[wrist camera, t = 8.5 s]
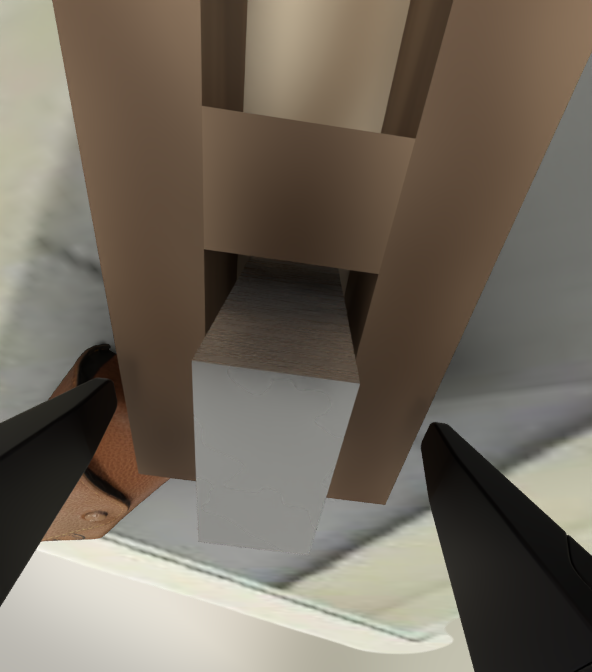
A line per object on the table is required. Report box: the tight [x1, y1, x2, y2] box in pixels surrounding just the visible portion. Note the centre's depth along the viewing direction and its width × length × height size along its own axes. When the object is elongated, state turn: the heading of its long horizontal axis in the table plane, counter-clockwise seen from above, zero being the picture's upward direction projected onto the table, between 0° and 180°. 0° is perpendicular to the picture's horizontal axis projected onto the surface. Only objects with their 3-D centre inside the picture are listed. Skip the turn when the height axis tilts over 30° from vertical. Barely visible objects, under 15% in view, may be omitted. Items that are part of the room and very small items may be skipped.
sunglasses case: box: [41, 344, 170, 542], centre depth 20 cm, size 18×7×7 cm, turn 139°
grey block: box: [192, 256, 360, 555], centre depth 11 cm, size 3×6×8 cm, turn 172°
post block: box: [52, 0, 592, 505], centre depth 10 cm, size 10×22×5 cm, turn 172°
